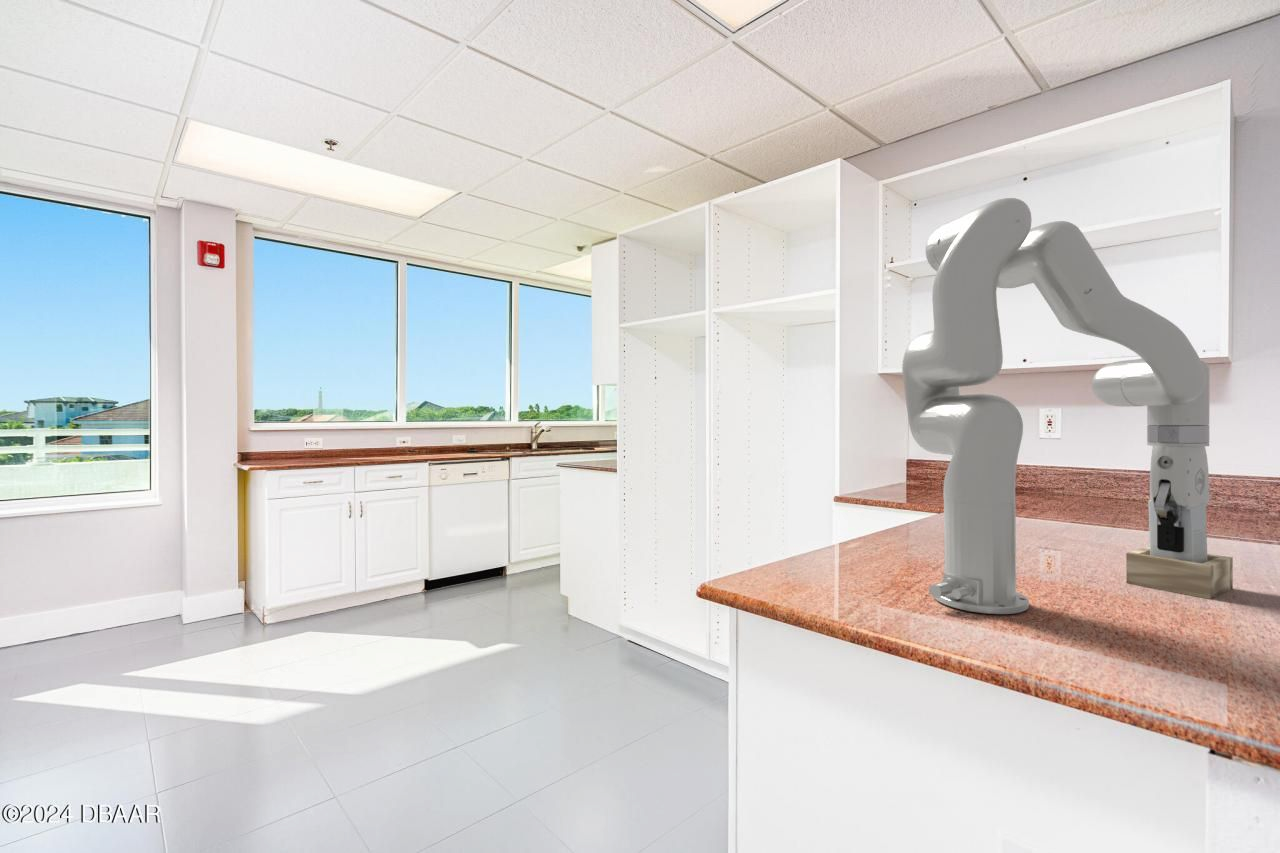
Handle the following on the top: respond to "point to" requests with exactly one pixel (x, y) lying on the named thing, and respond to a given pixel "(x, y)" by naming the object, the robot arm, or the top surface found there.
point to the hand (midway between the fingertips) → (1177, 547)
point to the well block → (1180, 573)
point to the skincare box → (1192, 534)
